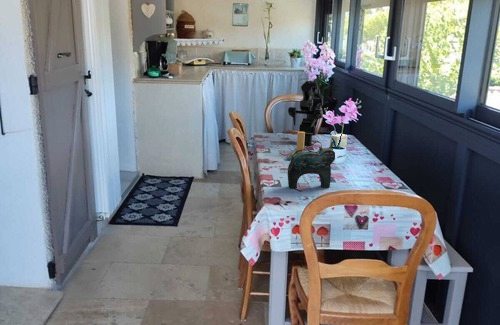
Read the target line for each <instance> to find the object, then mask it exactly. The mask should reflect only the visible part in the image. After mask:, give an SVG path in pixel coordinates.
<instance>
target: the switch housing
mask: <svg viewBox="0 0 500 325" xmlns="http://www.w3.org/2000/svg"><path fill="white" fill-rule="evenodd" d="M304 149H307V147H306V148H305V147H304ZM297 150H298V149H296V147H295V148H294V149H293V150H291V151H290V152H289V154H288V155H287V157H286V161H290V162H291V160H292V156H293V154H294V153H295V152H296V151H297ZM307 150H308V149H307ZM307 150H303V151H302V152H308V151H307ZM297 154H298V153H296V154H295V155H297ZM295 155H294V156H295ZM294 156H293V157H294Z"/></svg>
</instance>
